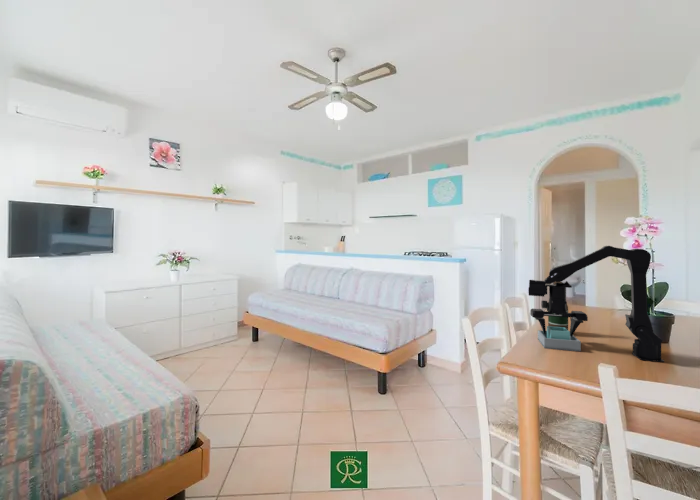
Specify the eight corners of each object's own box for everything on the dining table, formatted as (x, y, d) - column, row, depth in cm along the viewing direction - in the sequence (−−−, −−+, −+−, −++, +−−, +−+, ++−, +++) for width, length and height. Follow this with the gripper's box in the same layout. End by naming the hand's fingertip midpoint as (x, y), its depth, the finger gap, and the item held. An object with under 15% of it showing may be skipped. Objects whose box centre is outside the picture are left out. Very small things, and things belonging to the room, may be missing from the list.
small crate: (564, 341, 125) (564, 327, 125) (569, 346, 119) (569, 331, 119) (546, 340, 127) (546, 326, 127) (550, 344, 121) (550, 330, 121)
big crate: (570, 342, 126) (570, 332, 126) (580, 351, 115) (580, 341, 115) (537, 339, 131) (537, 330, 131) (544, 348, 120) (544, 338, 119)
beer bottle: (544, 331, 142) (544, 281, 142) (556, 329, 145) (556, 280, 144) (560, 336, 135) (559, 283, 134) (572, 334, 137) (572, 282, 137)
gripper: (578, 295, 127) (578, 331, 127) (527, 293, 133) (527, 328, 134) (588, 300, 116) (588, 339, 117) (533, 297, 123) (533, 335, 123)
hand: (557, 335), depth 123 cm, fingers open, 9 cm apart
